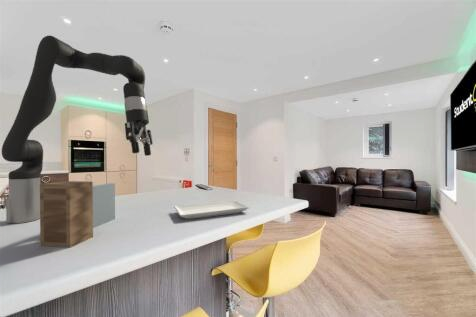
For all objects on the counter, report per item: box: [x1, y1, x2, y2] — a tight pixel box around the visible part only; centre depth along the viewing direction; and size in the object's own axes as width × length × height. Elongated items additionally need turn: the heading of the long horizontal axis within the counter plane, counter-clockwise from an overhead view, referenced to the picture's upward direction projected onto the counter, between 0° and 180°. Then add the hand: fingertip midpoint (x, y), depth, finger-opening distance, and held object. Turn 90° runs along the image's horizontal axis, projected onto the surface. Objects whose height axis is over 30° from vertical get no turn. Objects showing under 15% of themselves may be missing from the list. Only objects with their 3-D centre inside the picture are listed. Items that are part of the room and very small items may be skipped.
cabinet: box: [39, 180, 94, 248], centre depth 68 cm, size 12×12×18 cm
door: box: [93, 182, 116, 229], centre depth 83 cm, size 12×3×15 cm, turn 172°
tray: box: [173, 199, 250, 220], centre depth 99 cm, size 17×31×4 cm, turn 115°
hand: (142, 154), depth 78 cm, fingers open, 8 cm apart
